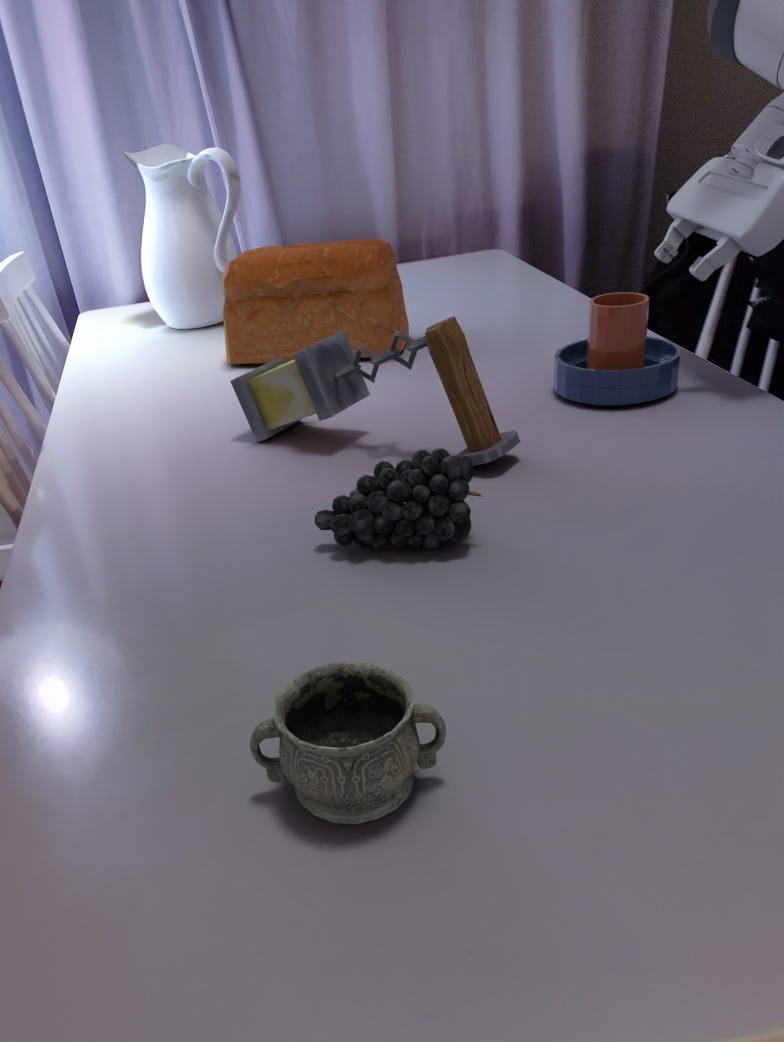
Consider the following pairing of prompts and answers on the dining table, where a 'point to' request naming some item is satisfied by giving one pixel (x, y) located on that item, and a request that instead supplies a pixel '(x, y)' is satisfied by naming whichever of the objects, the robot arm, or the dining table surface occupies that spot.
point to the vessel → (348, 740)
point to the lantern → (337, 383)
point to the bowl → (617, 376)
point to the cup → (617, 331)
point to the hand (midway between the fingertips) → (676, 267)
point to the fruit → (424, 518)
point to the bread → (312, 299)
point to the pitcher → (185, 234)
